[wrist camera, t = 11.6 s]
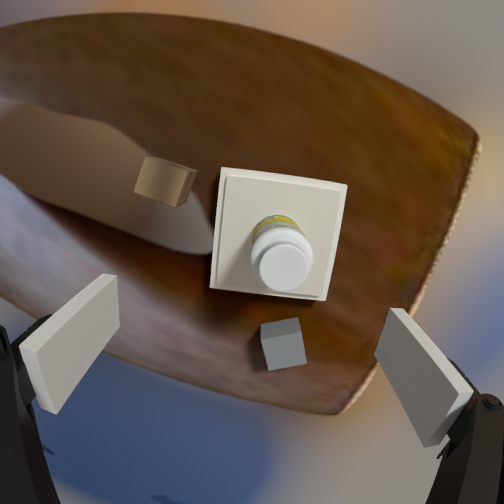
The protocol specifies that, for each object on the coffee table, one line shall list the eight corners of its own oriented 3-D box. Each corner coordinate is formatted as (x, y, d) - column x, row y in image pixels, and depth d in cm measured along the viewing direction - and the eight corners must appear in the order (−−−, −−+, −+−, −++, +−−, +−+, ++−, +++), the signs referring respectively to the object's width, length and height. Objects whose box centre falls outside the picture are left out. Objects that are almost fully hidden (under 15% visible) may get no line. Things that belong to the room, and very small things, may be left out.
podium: (212, 280, 38) (209, 289, 35) (223, 167, 34) (220, 167, 31) (321, 293, 38) (326, 302, 35) (341, 183, 34) (348, 185, 32)
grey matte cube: (268, 353, 41) (268, 370, 37) (260, 323, 40) (260, 339, 36) (303, 346, 41) (306, 363, 37) (297, 316, 40) (301, 332, 36)
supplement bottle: (290, 269, 34) (301, 311, 25) (244, 252, 34) (237, 288, 24) (309, 224, 33) (330, 249, 23) (262, 205, 32) (263, 223, 23)
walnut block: (149, 188, 35) (133, 192, 30) (160, 157, 34) (145, 156, 29) (186, 202, 36) (175, 207, 31) (197, 170, 35) (187, 171, 30)
